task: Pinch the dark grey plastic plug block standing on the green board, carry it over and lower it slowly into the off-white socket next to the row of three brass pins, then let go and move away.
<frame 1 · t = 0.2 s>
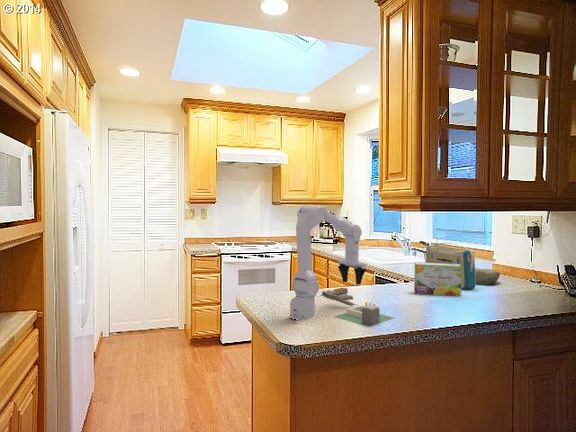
hand: (351, 283, 175), 10 cm above the worktop, tool pointing down, fingers open, 7 cm apart
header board: (364, 319, 156), on the worktop
pin header: (370, 307, 162), on the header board, point 3 cm above the worktop
radio: (448, 284, 220), on the worktop
socket: (362, 312, 159), on the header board, point 2 cm above the worktop
snack box: (437, 294, 198), on the worktop
plug: (370, 322, 148), point 1 cm above the worktop, touching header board
stone: (484, 283, 224), on the worktop
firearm: (348, 300, 188), on the worktop
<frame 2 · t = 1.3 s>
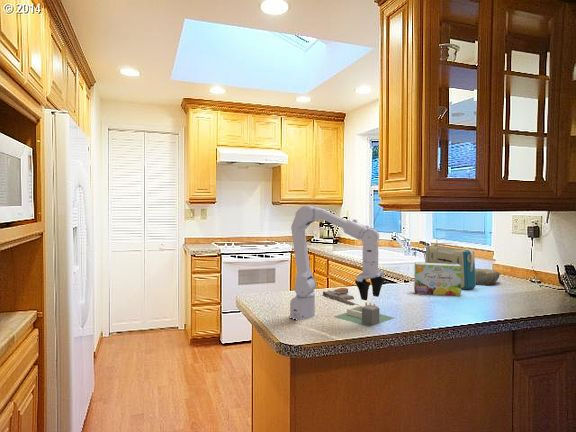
hand: (370, 298, 149), 10 cm above the worktop, tool pointing down, fingers open, 7 cm apart
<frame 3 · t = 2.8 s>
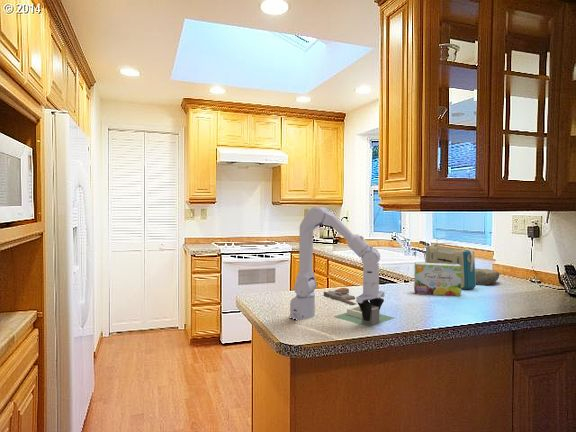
hand: (370, 319, 148), 2 cm above the worktop, tool pointing down, fingers closed on plug, 4 cm apart
plug: (370, 322, 148), point 1 cm above the worktop, touching gripper, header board
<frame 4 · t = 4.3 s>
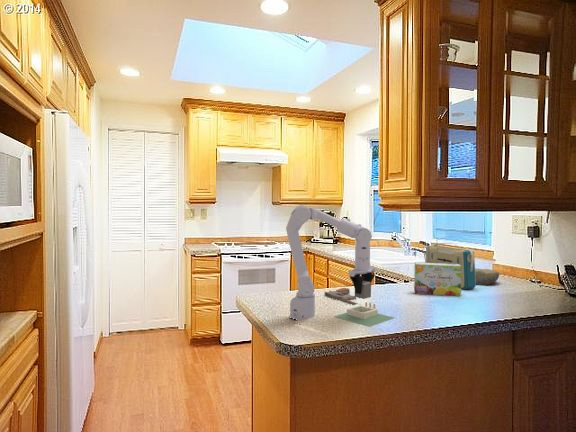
hand: (362, 292, 158), 10 cm above the worktop, tool pointing down, fingers closed on plug, 4 cm apart
plug: (362, 296, 158), point 8 cm above the worktop, touching gripper
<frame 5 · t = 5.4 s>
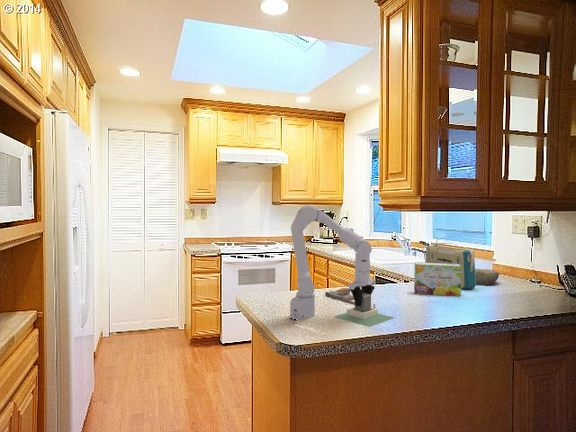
hand: (362, 304, 159), 5 cm above the worktop, tool pointing down, fingers closed on plug, 4 cm apart
plug: (362, 309, 158), point 3 cm above the worktop, touching gripper
when the fingers open (4 cm above the worktop, at t = 6.2 s): plug drops 1 cm, resting on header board.
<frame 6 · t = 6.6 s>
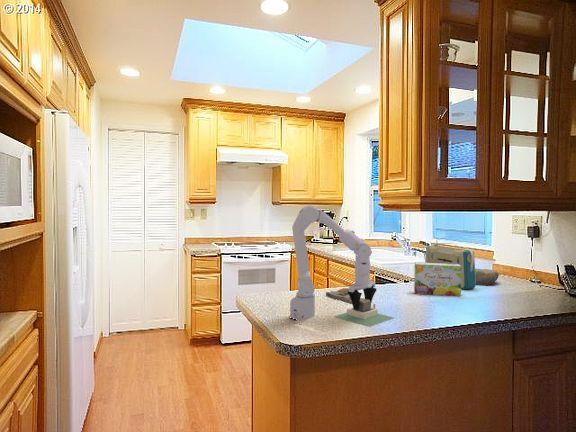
hand: (362, 307, 159), 4 cm above the worktop, tool pointing down, fingers open, 7 cm apart
plug: (362, 314, 159), point 1 cm above the worktop, touching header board
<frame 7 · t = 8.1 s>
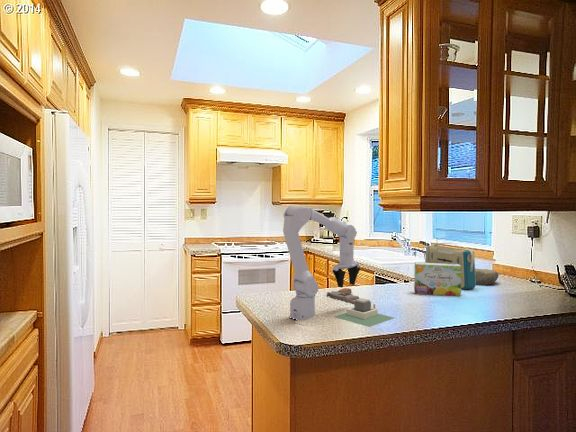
hand: (346, 285, 168), 10 cm above the worktop, tool pointing down, fingers open, 7 cm apart
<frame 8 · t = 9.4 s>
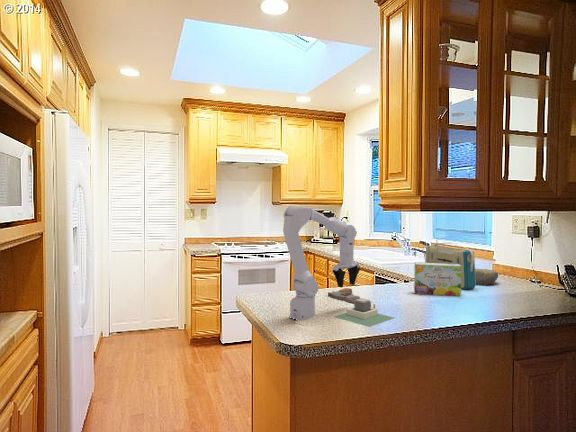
hand: (346, 285, 168), 10 cm above the worktop, tool pointing down, fingers open, 7 cm apart
at the end: plug 0.2 cm from the target spot on the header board, point 1.0 cm above the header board's base; plug tilted 0°; the gripper is holding nothing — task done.
